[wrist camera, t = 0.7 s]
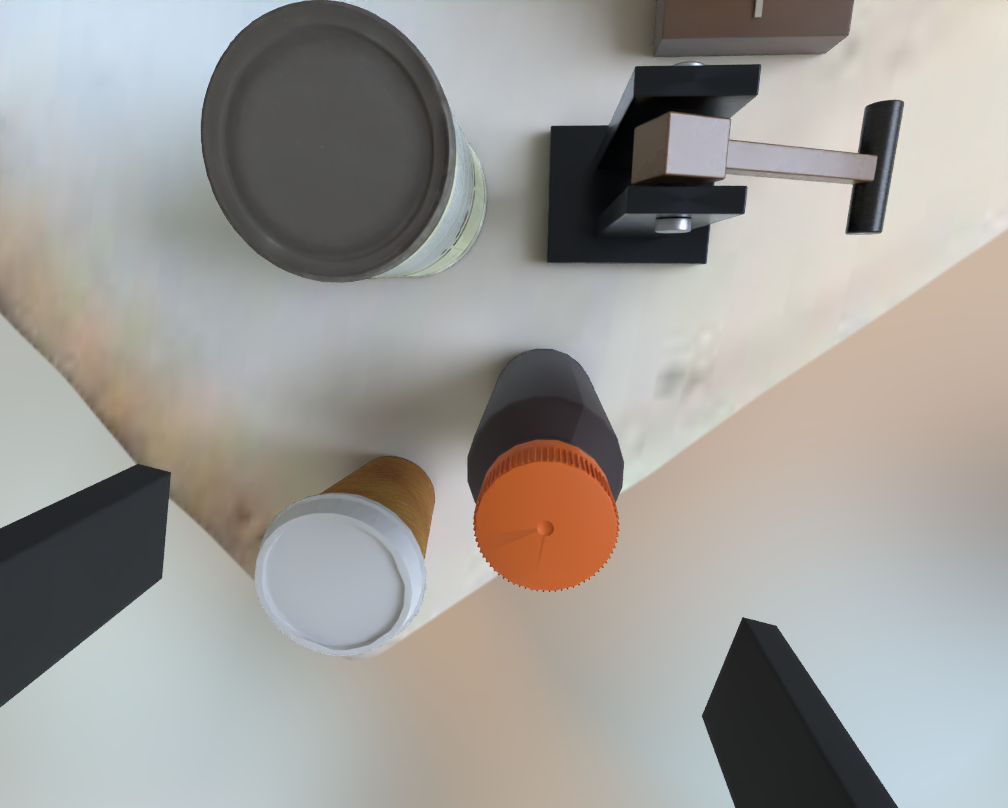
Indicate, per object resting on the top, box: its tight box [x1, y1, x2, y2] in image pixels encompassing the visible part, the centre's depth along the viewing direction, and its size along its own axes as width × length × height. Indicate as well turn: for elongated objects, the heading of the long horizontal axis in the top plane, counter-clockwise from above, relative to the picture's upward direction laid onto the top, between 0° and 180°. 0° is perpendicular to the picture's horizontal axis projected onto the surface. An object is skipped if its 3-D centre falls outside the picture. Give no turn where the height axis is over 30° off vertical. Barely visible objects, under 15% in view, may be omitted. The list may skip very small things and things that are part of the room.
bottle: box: [468, 349, 624, 592], centre depth 27 cm, size 7×7×20 cm
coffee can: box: [201, 0, 487, 282], centre depth 28 cm, size 10×10×14 cm
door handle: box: [631, 100, 904, 235], centre depth 22 cm, size 13×6×2 cm, turn 89°
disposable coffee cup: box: [254, 456, 435, 656], centre depth 34 cm, size 10×10×12 cm
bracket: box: [547, 62, 761, 264], centre depth 26 cm, size 10×8×15 cm
